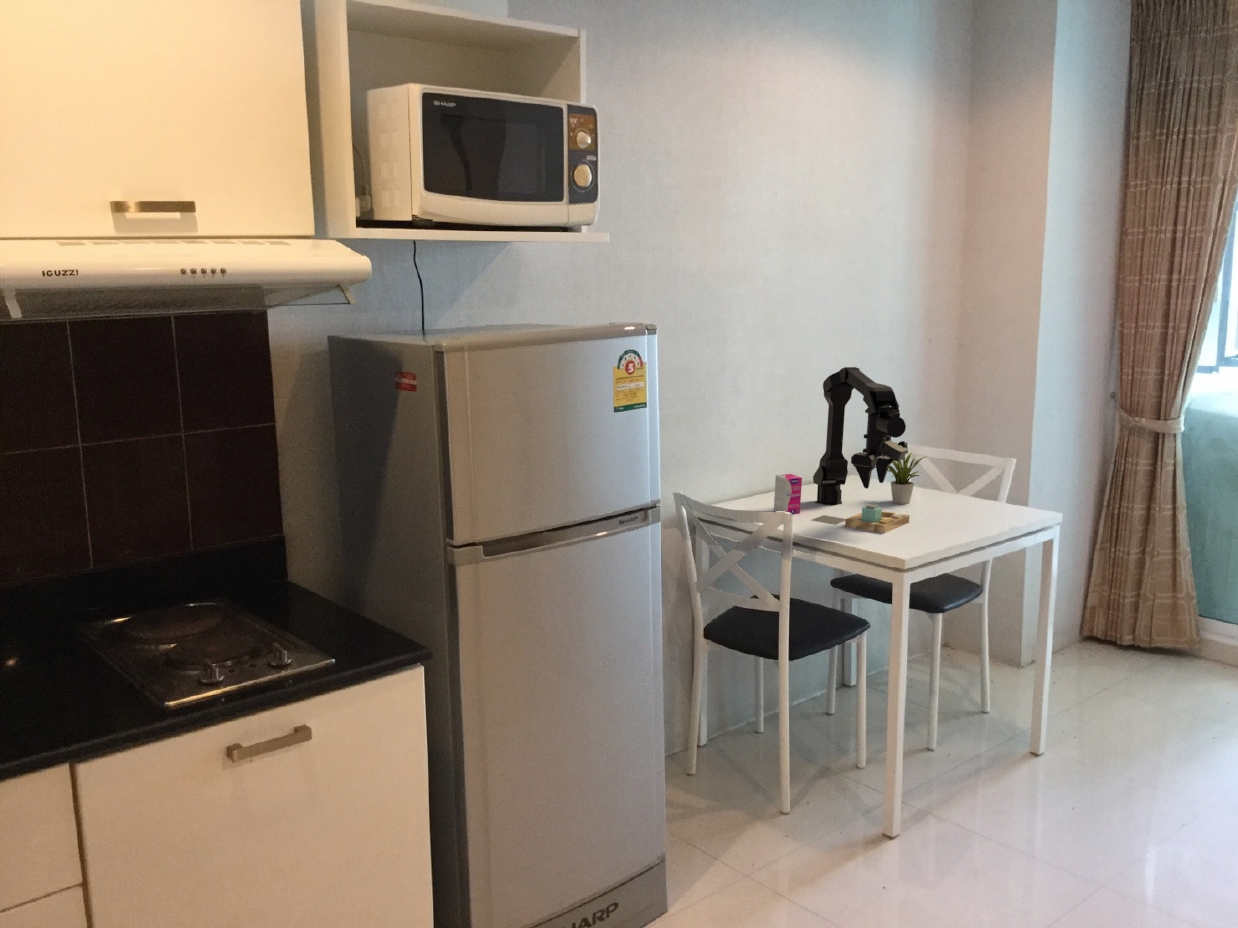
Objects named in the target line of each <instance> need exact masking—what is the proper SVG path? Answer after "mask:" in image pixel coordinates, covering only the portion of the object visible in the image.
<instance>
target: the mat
mask: <svg viewBox="0 0 1238 928" xmlns="http://www.w3.org/2000/svg"><path fill="white" fill-rule="evenodd" d="M845 519H846V518H842V517H837V516H831V515H825V514H823V515H820V516H818V517H815V518H813V519H811V521H813V522H817V523H818V522H819V523H824V524H829V525H834V526H835V525H837V524H841V523H845Z"/></svg>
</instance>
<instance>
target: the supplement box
mask: <svg viewBox="0 0 1238 928" xmlns="http://www.w3.org/2000/svg"><path fill="white" fill-rule="evenodd" d="M774 480H775V481H774V482H775V483H774V498H773V512H774V511H785V512H790V513H792V515H798V514H799V515H800V514H801V500H802V483H803V478H802V477H801V476H798V475H795V474H792V473H788V474H787V473H786V474H776V475H775V479H774Z"/></svg>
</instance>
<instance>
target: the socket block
mask: <svg viewBox="0 0 1238 928" xmlns="http://www.w3.org/2000/svg"><path fill="white" fill-rule="evenodd" d="M910 516H911V515H909V514H904V513H898V512H891V511H884V510H882V512H881V520H880V521H879V522H878V523H873V522H867V521H862V512H860V513H858V514H855V515H852V516H849V517H847V518H844V519H845V521H844V527H846V528H852V529H858V530H863V531H867V532H875V533H881V534H887V533H889V532H890V531H891V532H892V531H893V530H896V529H898V528H900V527H902V526H904V525H907V524H910Z"/></svg>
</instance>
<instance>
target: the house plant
mask: <svg viewBox="0 0 1238 928" xmlns="http://www.w3.org/2000/svg"><path fill="white" fill-rule="evenodd" d="M907 454H908V455H907V456H906V455H905V456H904V459H903V460H902V461H901V460H899V461H894V462H893V463H892V465H893V466H894V467H895V468H894V467H893V466H891V465H890V466H889V469H888V471H887V472H890V473H892V475H891V478H892V477H894V478H895V480H892V481H890V487H891V488H890V489H891V499H892V502H893V503H894V504H898V505H905V504H906V505H909V504H910V503H911V499H912V493H913V491H914V485H915V483H914V482H912V481H910V479H912V478H915V477H920V475H919V474H918V473H920V474H922V472H920V471H914V472H912V470H913V469H915V467H917V465H918V464H919V463H920V462H921V461H922V460H923V459H926V458H927V456H923V457H921V458H917V459H916V455H914V456H913V458H912V459H911V457H912V454H913V452H910V453H907ZM909 461H910V462H909ZM911 472H912V473H911Z"/></svg>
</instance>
